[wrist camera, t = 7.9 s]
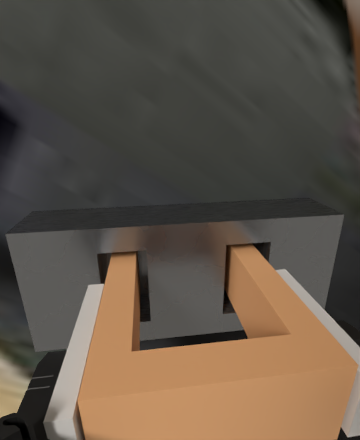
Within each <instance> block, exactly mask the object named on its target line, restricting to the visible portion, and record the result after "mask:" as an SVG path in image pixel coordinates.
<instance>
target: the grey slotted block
mask: <svg viewBox="0 0 360 440" xmlns="http://www.w3.org/2000/svg"><path fill="white" fill-rule="evenodd" d="M343 218H344V214H342V213H340V212H338V211H335V210H333V209H331V208H329V207H327V206H325V205H323V204H321V203H318V202H316V201H314V200H312V199H310V198H300V199H280V200H259V201H239V202H219V203H198V204H178V205H157V206H137V207H116V208H96V209H75V210H55V211H35V212H31V213H30V214H29V215H28V216H27V217H25V218H24V219H23V220H22V221H20V222H19V223H18V224H17V225H16V226H14V227H13V228H12V229H11V230H10V231H8V232H7V233H6V234H5V235H6V239H7V242H8V246H9V250H10V254H11V258H12V262H13V266H14V270H15V274H16V278H17V282H18V285H19V289H20V293H21V297H22V301H23V305H24V309H25V313H26V317H27V321H28V325H29V328H30V332H31V336H32V340H33V344H34V348H35V352H38V351H48V350H57V349H67V348H68V346H69V343H70V340H71V337H72V334H73V331H74V328H75V324H76V321H77V318H78V315H79V312H80V309H81V306H82V303H83V300H84V297H85V294H86V291H87V288H88V285H93V284H104V285H105V280H106V276H107V272H108V268H109V263H110V259H111V255H112V253H114V252H129V251H138V261H139V275H140V341H143V340H152V339H162V338H171V337H181V336H190V335H200V334H209V333H219V332H228V331H238V330H244V328H243V326H242V324H241V322H240V320H239V318H238V316H237V314H236V312H235V310H234V307H233V305H232V303H231V301H230V299H229V297H228V295H227V293H226V291H225V289H224V278H225V259H226V245H233V244H248V243H252V244H253V245H254V247H255V248H256V249H257V250H258V251H259V252H260V253H261V255H262V256H263V257H264V258H265V259H266V260H267V261H268V263H269V264H270V265H271V266H272V267H273V268H274V269H275V270H281V269H286V270H287V271H288V272H289V273H290V274H291V276H292V277H293V278H294V279H295V280H296V281H297V282H298V283H299V284H300V285H301V286H302V287H303V288H304V289H305V290H306V291H307V292H308V293H309V294H310V295H311V297H312V298H313V299H314V300H315V301H316V302H317V303H318V304H319V305H320V306H321V307H322V308H323V309H325V304H326V299H327V294H328V290H329V285H330V280H331V275H332V271H333V266H334V261H335V256H336V251H337V247H338V242H339V237H340V232H341V228H342V223H343Z"/></svg>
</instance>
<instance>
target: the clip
mask: <svg viewBox="0 0 360 440" xmlns="http://www.w3.org/2000/svg"><path fill="white" fill-rule="evenodd" d="M224 289H225V291H226V293H227V295H228V297H229V299H230V301H231V303H232V305H233V307H234V310H235V312H236V314H237V316H238V318H239V320H240V322H241V324H242V326H243V328H244V330H245V332H246V334H247V337H248V339H243V340H234V341H225V342H216V343H206V344H197V345H188V346H179V347H170V348H161V349H152V350H142V351H139V344H140V275H139V261H138V251H129V252H114V253H112V255H111V259H110V263H109V268H108V272H107V276H106V280H105V285H104V289H103V293H102V298H101V302H100V306H99V311H98V315H97V319H96V323H95V328H94V332H93V336H92V341H91V345H90V349H89V353H88V358H87V362H86V366H85V371H84V375H83V379H82V384H81V388H80V392H79V396H78V406H79V411H80V416H81V421H82V426H83V431H84V436H85V440H337V438H338V435H339V431H340V428H341V425H342V421H343V418H344V414H345V411H346V407H347V404H348V400H349V397H350V393H351V390H352V386H353V383H354V380H355V376H356V373H357V369H358V366H359V365H358V364H357V363H356V362H355V360H354V359H353V358H352V357H351V356H350V355H349V354H348V352H347V351H346V350H345V349H344V348H343V347H342V346H341V345H340V343H339V342H338V341H337V340H336V339H335V338H334V337H333V335H332V334H331V333H330V332H329V331H328V330H327V329H326V327H325V326H324V325H323V324H322V323H321V322H320V321H319V319H318V318H317V317H316V316H315V315H314V314H313V313H312V311H311V310H310V309H309V308H308V307H307V306H306V305H305V304H304V302H303V301H302V300H301V299H300V298H299V297H298V296H297V294H296V293H295V292H294V291H293V290H292V289H291V288H290V286H289V285H288V284H287V283H286V282H285V281H284V280H283V278H282V277H281V276H280V275H279V274H278V273H277V272H276V271H275V269H274V268H273V267H272V266H271V265H270V264H269V263H268V261H267V260H266V259H265V258H264V257H263V256H262V255H261V253H260V252H259V251H258V250H257V249H256V248H255V247H254V245H253V244H252V243H248V244H233V245H226V259H225V278H224Z"/></svg>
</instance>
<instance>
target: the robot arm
mask: <svg viewBox="0 0 360 440" xmlns="http://www.w3.org/2000/svg"><path fill="white" fill-rule="evenodd" d="M275 271H276V272H277V273H278V274H279V275H280V276H281V277H282V278H283V280H284V281H285V282H286V283H287V284H288V285H289V286H290V288H291V289H292V290H293V291H294V292H295V293H296V294H297V296H298V297H299V298H300V299H301V300H302V301H303V302H304V304H305V305H306V306H307V307H308V308H309V309H310V310H311V311H312V313H313V314H314V315H315V316H316V317H317V318H318V319H319V321H320V322H321V323H322V324H323V325H324V326H325V327H326V329H327V330H328V331H329V332H330V333H331V334H332V335H333V337H334V338H335V339H336V340H337V341H338V342H339V343H340V345H341V346H342V347H343V348H344V349H345V350H346V351H347V352H348V354H349V355H350V356H351V357H352V358H353V359H354V360H355V362H356V363H357V364H358V365H359V366H358V369H357V373H356V376H355V380H354V383H353V386H352V390H351V393H350V397H349V400H348V404H347V407H346V411H345V414H344V418H343V421H342V425H341V428H342V429H343V431H344V432H345V434H346V435H347V437H353V436H359V435H360V332H359V331H358V330H357V329H356V328H354V327H353V326H351V325H350V324H348V323H346V322H345V321H334V320H333V319H332V318H331V316H330V315H329V314H328V313H327V312H326V311H325V310H324V309H323V308H322V307H321V306H320V305H319V304H318V303H317V302H316V301H315V300H314V299H313V298H312V297H311V295H310V294H309V293H308V292H307V291H306V290H305V289H304V288H303V287H302V286H301V285H300V284H299V283H298V282H297V281H296V280H295V279H294V278H293V277H292V276H291V274H290V273H289V272H288V271H287V270H286V269H281V270H275ZM103 289H104V284H93V285H88V288H87V291H86V294H85V297H84V300H83V303H82V306H81V309H80V312H79V315H78V318H77V321H76V324H75V328H74V331H73V334H72V337H71V340H70V343H69V346H68V349H67V351H58V352H48V353H47V354H46V356H45V357H44V358H43V359H42V360H41V361H40V362H39V363H38V365H37V367H36V370H35V372H34V374H33V377H32V380H31V381H30V384H29V386H28V390H27V391H26V393H25V395H24V398H23V400H22V402H21V405H20V407H19V409H18V412H17V413H12V414H9V415H6V416H3V417H1V418H0V440H85V436H84V431H83V426H82V421H81V416H80V411H79V406H78V396H79V392H80V388H81V384H82V379H83V375H84V371H85V366H86V362H87V358H88V353H89V349H90V345H91V341H92V336H93V332H94V328H95V323H96V319H97V315H98V311H99V306H100V302H101V298H102V293H103Z"/></svg>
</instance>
